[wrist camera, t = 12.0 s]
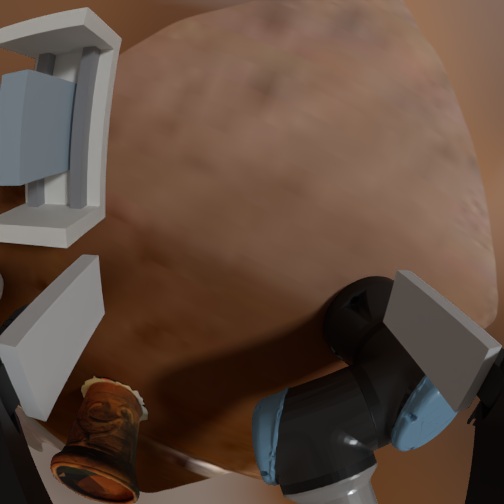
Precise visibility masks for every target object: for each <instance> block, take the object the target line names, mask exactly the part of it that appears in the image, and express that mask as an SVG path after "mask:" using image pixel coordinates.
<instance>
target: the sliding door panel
mask: <svg viewBox="0 0 504 504" xmlns="http://www.w3.org/2000/svg"><path fill="white" fill-rule="evenodd" d="M76 88H77V84H76V83H73V82H70V81H67V80H64V79H61V78H57V77H54V76H51V75H47V74H44V73H40V72H37V71H33V70H30V69H27V70H22V71H18V72H13V73H8V74H4V75H2V80H1V88H0V186H20V185H23V184H26V183H29V182H32V181H35V180H38V179H41V178H45V177H48V176H51V175H55V174H58V173H61V172H65V171H69V170H70V154H71V137H72V124H73V113H74V104H75V96H76Z"/></svg>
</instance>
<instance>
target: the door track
mask: <svg viewBox="0 0 504 504" xmlns="http://www.w3.org/2000/svg"><path fill="white" fill-rule="evenodd" d="M120 45H121V38H120V37H119V36H118V35H117V34H116V33H115V32H114V31H113V30H112V29H111V28H110V27H109V26H108V25H106V24H105V23H104V22H103V21H102V20H101V19H100V18H99V17H98V16H97V15H96V14H95V13H93V11H92V10H90V9H89V8H88V7H87V8H81V9H75V10H69V11H64V12H59V13H55V14H50V15H46V16H42V17H38V18H34V19H31V20H27V21H23V22H20V23H17V24H13V25H10V26H7V27H4V28H1V29H0V48H3V49H7V50H10V51H13V52H16V53H19V54H22V55H25V56H28V57H32V58H34V59H36V61H35V67H34V71H37V72H40V73H44V74H47V75H51V76H54V77H57V78H61V79H64V80H67V81H70V82H73V83H76V84H77V88H76V96H75V104H74V113H73V124H72V137H71V154H70V170H69V171H65V172H61V173H58V174H55V175H51V176H48V177H45V178H41V179H38V180H35V181H32V182H29V183H26V184H25V197H26V203H25V204H23V205H20V206H18V207H16V208H14V209H12V210H9V211H7V212H5V213H3V214H1V215H0V242H7V243H17V244H27V245H38V246H49V247H60V248H68V247H69V246H70V245H71V244H73V243H74V242H75V241H76V240H77V239H79V238H80V237H81V236H82V235H84V234H85V233H86V232H87V231H89V230H90V229H91V228H92V227H94V226H95V225H96V224H97V223H99V222H100V221H101V220H102V219H104V218H105V181H106V159H107V143H108V131H109V120H110V111H111V102H112V94H113V87H114V80H115V73H116V67H117V61H118V55H119V50H120Z"/></svg>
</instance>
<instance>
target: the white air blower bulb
mask: <svg viewBox="0 0 504 504" xmlns="http://www.w3.org/2000/svg"><path fill="white" fill-rule="evenodd" d="M3 286H4V284H3V279H2V276H1V274H0V299H1V296H2V293H3Z"/></svg>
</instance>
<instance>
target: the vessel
mask: <svg viewBox="0 0 504 504" xmlns="http://www.w3.org/2000/svg"><path fill="white" fill-rule="evenodd" d="M81 388H82V389H81V392H82V393H83V397H84V400H83V402H82V404H81V407H80V408H79V411H78V414H77V417H76V419H75V421H74V423H73V425H72V428H71V432H70V435H69V438H68V440H67V444H66V446H64V448H63V450H62V451H61V452H59V453H57V454H55V455H54V456H53V458H52V460H51V471H52V473H53V476H54V477H55V478H56V479H57V480H58V481H59V482H61V483H62V484H64V485H66V486H67V487H68V488H69V489H71V490H73V491H74V492H75V493H77V494H78V495H81V496H84V497H85V498H88V499H90V500H94V501H99V502H103V503H107V504H133V503H135V502H136V501H137V500H138V498H139V488H138V485H137V481H136V477H135V471H134V468H135V459H136V447H137V437H138V429H139V423H140V421H141V420H147V416H148V412H147V409H146V408H145V407H143V406H142V405H143V404H144V403H143V399H142V398H141V397H140V395H139V393H138V391H132V390H131V388H130V387H129V386H127V385H122V384H121V383H119V382H117V381H116V383H115V382H113V381H111V380H110V379H105V378H102V379H99V378H96V377H95V376H93V379H90V380H87V381H85V385H83V386H82V387H81Z"/></svg>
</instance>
